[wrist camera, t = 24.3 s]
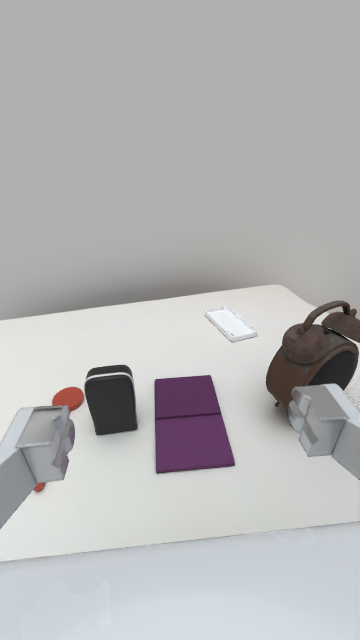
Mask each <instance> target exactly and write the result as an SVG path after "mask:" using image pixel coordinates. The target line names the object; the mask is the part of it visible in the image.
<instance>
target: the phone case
mask: <svg viewBox="0 0 360 640" xmlns="http://www.w3.org/2000/svg"><path fill="white" fill-rule="evenodd" d="M218 308H223V309H222V310H217V311H212V312H209V310H213V309H218ZM205 316H206V317H207V318H208V319H209V320H210V321H211V322H212V323H213V324H214V325H215V326H216V327H217V328H218V329H219V330H220V331H221V332H222V333H223V334H224V335H225V336H226V337H227V338H228V339H229V340H230V341H232V342H235V341H239V340H243V339H247V338H251V337H255V336H257V330H256V329H255V328H254V327H253V326H252V325H250V324H249V323H248V322H247V321H246V320H244V319H243V318H242V317H241V316H240V315H238V314H237V313H236V312H235V311H234V310H232V309H231V308H230V307H229V306H222V307H217V308H212V309H207V310H205ZM228 332H230V333H231V334H232V335H233V336H234V337H233V336H231V335H230V334H229V333H228Z"/></svg>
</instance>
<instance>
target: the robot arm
mask: <svg viewBox="0 0 360 640" xmlns="http://www.w3.org/2000/svg"><path fill="white" fill-rule="evenodd" d="M291 395H292V397H293V400H292V401H291V402H290V403H289V406H288V418H289V421H290V424H291V426H292V428H293V429H294V430H295V431H296V432H298V433H299V434H300V437H299V441H300V443H301V445H302V447H303V449H304V451H305V452H306V454H307V456H308V457H312V456H327V455H332V456H331V457H333V458H334V459H335V460H336V461H337V462H339V463H340V464H341V465H342V466H343V467H344V468H346V469H347V470H348V471H349V472H350V473H352V474H353V475H354V476H355V477H356V478H358V479H359V480H360V411H359V409H358V408H357V407H356V406H355V405H354V403H353V402H352V401H351V400H350V399H349V397H348V396H347V395H346V394H345V393H344V391H343V390H342V389H341V388H340V387H339V386H338V385H337V384H335V383H334V384H322V385H311V386H299V387H294V388H293V390H292V393H291ZM69 415H70V411H69V408H68V406H67V405H58V406H39V407H26V408H21V409H20V410H18V411H17V413H16V415H15V417H14V419H13V421H12V423H11V424H10V426H9V428H8V430H7V432H6V434H5V436H4V437H3V439H2V441H1V443H0V529H1V528H2V526H3V525H4V524H5V523H6V522H7V520H8V519H9V518H10V517H11V516H12V514H13V513H14V512H15V511H16V510H17V508H18V507H19V506H20V505H21V504H22V502H23V501H24V500H25V499H26V498H27V496H28V495H29V494H30V493H31V492H32V490H33V489H34V488H35V487H36V486H37V483H43V482H51V481H59V480H64V477H65V473H66V470H67V466H68V463H69V459H68V457H67V454H68V453H69V452H70V451H71V450H72V448H73V444H74V438H75V428H74V423H73V421H72V420H70V419H69ZM0 640H360V521H359V522H350V523H341V524H332V525H323V526H314V527H305V528H296V529H287V530H278V531H269V532H260V533H251V534H242V535H233V536H224V537H216V538H207V539H198V540H189V541H180V542H171V543H162V544H153V545H144V546H135V547H126V548H117V549H108V550H100V551H91V552H82V553H73V554H64V555H55V556H46V557H37V558H28V559H19V560H10V561H2V562H0Z"/></svg>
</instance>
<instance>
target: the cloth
mask: <svg viewBox="0 0 360 640" xmlns="http://www.w3.org/2000/svg"><path fill="white" fill-rule="evenodd" d="M155 380H156V381H155V434H156V473H165V472H175V471H186V470H196V469H206V468H217V467H227V466H234V465H235V462H234V458H233V455H232V451H231V447H230V444H229V440H228V436H227V433H226V429H225V426H224V422H223V418H222V415H221V411H220V407H219V404H218V400H217V396H216V393H215V389H214V386H213V382H212V378H211V376H210V375H205V376H192V377H178V378H165V379H155Z"/></svg>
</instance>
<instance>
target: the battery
mask: <svg viewBox="0 0 360 640" xmlns="http://www.w3.org/2000/svg"><path fill="white" fill-rule="evenodd" d="M84 389H85V395H86V399H87V403H88V407H89V410H90V413H91V416H92V419H93V422H94V426H95V431H96V434H97V435H99V434H108V433H116V432H122V431H128V430H134V429H137V428H138V420H137V413H136V398H135V389H134V382H133V376H132V372H131V370H130V368H129V367H128V366H126V365H113V366H104V367H97V368H93V369H91V370H90V371H89V372H88V374H87V377H86V381H85V384H84Z"/></svg>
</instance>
